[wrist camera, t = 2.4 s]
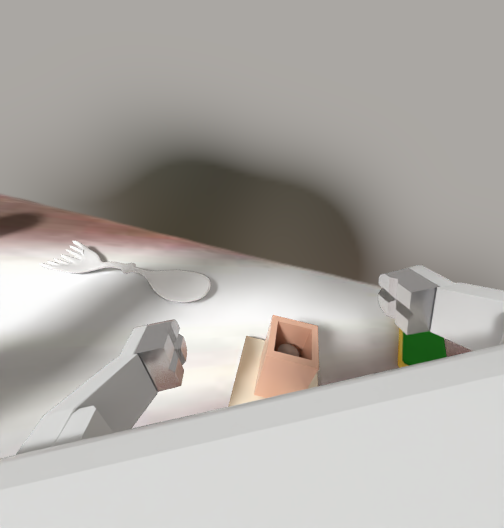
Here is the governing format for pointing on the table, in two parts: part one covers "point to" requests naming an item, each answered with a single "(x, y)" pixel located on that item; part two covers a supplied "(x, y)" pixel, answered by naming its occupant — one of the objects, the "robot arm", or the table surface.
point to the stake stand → (255, 370)
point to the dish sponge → (419, 348)
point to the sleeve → (287, 358)
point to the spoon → (163, 282)
